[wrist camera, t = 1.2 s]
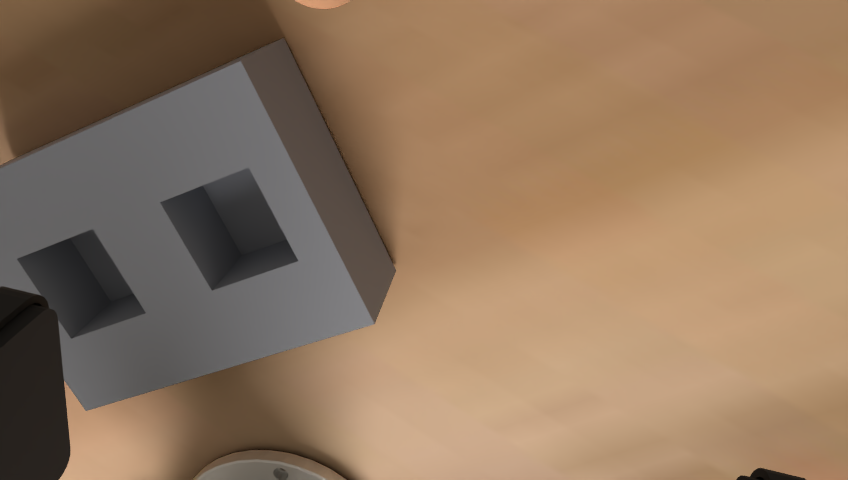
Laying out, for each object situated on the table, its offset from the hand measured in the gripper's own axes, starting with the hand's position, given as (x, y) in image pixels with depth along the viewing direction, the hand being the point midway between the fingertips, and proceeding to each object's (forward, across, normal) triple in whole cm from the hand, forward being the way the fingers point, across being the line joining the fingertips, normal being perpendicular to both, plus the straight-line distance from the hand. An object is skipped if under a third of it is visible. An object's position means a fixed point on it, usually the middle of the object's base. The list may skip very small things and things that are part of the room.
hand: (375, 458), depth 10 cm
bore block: (+23, +13, +10) cm, 28 cm away
